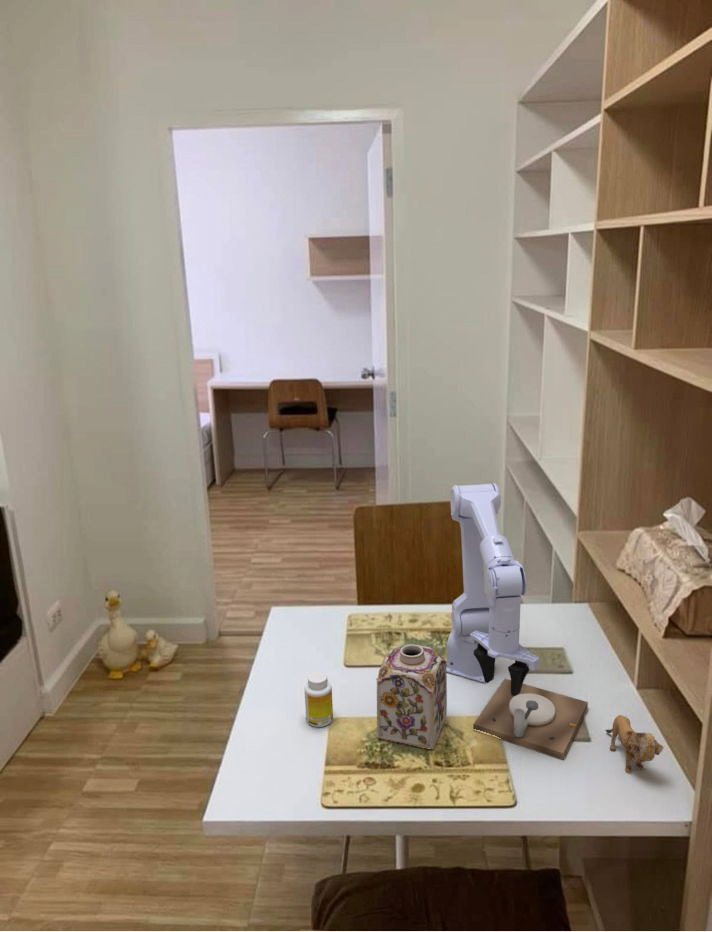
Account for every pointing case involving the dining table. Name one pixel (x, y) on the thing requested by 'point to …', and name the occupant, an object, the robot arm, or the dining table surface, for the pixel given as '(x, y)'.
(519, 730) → the dial
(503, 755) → the dining table surface
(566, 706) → the board
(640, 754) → the lion figurine
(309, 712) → the supplement bottle
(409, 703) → the decorative jar
